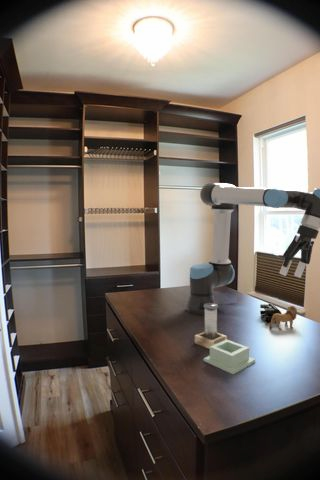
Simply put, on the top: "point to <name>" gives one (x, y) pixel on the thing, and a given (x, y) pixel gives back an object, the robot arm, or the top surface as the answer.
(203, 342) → the mount
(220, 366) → the socket
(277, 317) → the lion figurine
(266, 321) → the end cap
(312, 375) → the top surface
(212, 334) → the silver capped cylinder
